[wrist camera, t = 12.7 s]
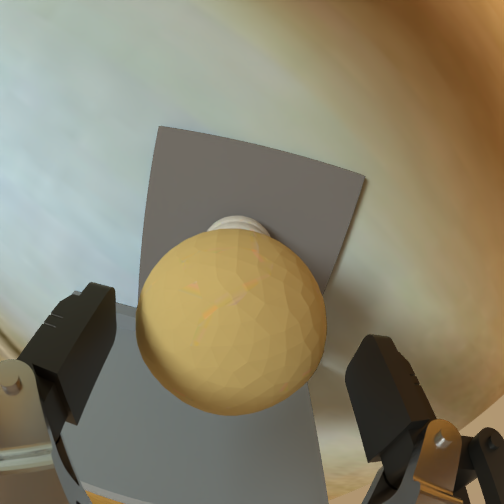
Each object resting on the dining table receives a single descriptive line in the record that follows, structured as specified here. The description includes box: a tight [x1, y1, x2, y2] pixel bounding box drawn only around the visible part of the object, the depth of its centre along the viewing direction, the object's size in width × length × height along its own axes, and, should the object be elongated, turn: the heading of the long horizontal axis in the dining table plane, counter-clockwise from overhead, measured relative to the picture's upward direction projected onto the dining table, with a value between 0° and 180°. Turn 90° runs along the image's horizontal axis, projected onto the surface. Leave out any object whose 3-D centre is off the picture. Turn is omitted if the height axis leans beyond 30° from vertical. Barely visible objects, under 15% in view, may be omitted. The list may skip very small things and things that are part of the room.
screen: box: [61, 291, 329, 504], centre depth 14 cm, size 4×17×12 cm, turn 76°
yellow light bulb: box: [136, 216, 327, 416], centre depth 12 cm, size 6×6×10 cm
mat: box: [138, 126, 365, 301], centre depth 17 cm, size 11×11×1 cm
